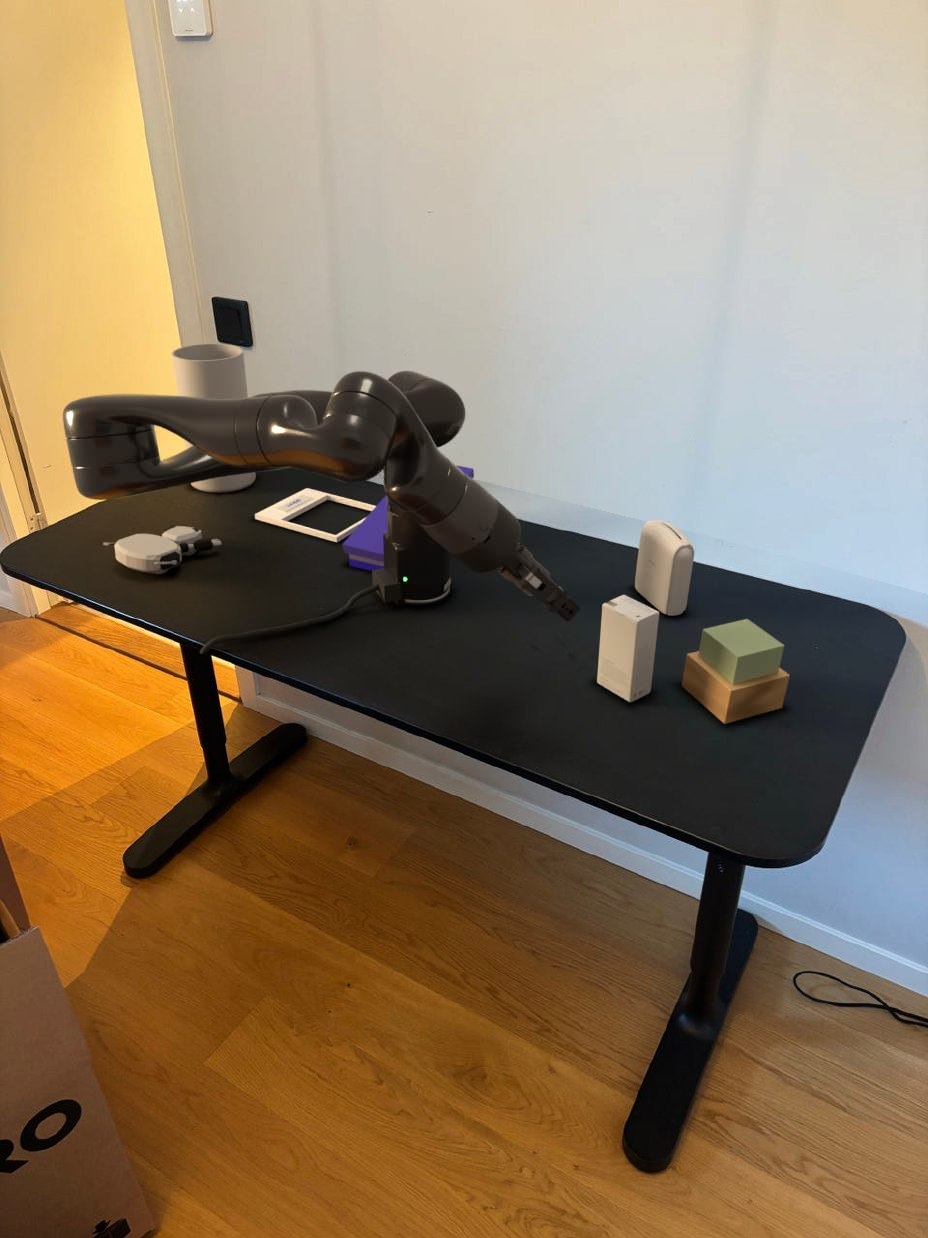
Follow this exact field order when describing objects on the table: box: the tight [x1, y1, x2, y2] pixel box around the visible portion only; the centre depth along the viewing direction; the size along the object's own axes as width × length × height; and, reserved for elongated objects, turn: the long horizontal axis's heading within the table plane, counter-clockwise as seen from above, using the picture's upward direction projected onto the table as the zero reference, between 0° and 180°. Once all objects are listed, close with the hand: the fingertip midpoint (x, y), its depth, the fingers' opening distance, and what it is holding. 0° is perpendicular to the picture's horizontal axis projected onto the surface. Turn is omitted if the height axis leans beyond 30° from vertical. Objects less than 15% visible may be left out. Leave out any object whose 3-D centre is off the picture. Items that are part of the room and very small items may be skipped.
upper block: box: [698, 618, 785, 684], centre depth 113 cm, size 7×7×4 cm
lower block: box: [681, 650, 791, 725], centre depth 115 cm, size 9×9×5 cm
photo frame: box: [254, 487, 377, 543], centre depth 163 cm, size 15×1×18 cm
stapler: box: [342, 464, 475, 572], centre depth 153 cm, size 12×28×10 cm, turn 156°
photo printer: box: [634, 519, 695, 616], centre depth 135 cm, size 10×4×12 cm, turn 20°
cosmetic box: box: [596, 594, 660, 703], centre depth 115 cm, size 6×4×12 cm
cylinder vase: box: [171, 343, 257, 494], centre depth 170 cm, size 12×12×25 cm
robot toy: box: [102, 524, 222, 575], centre depth 146 cm, size 12×4×15 cm
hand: (555, 597), depth 106 cm, fingers open, 8 cm apart
